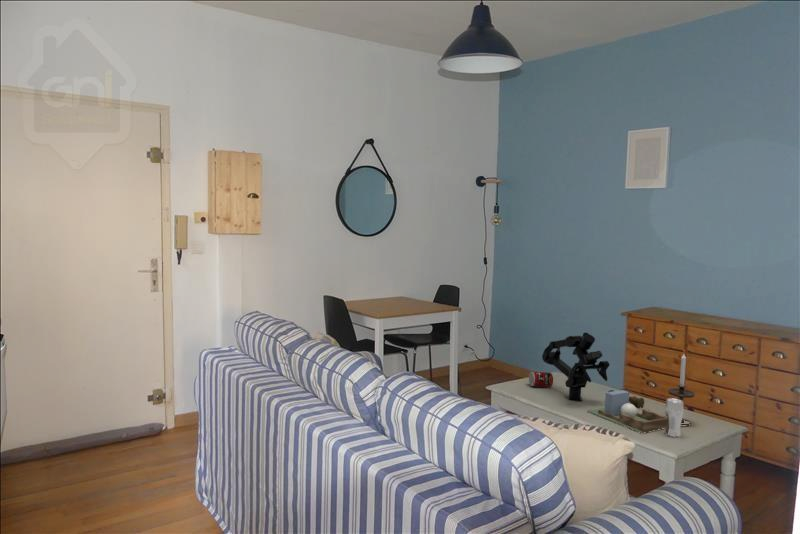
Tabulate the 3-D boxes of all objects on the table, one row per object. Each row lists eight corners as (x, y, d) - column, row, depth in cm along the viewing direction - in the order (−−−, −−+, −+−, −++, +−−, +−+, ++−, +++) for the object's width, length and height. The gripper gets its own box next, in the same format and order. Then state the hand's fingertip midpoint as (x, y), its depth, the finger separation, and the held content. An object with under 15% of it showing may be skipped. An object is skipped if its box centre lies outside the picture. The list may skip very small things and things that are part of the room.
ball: (619, 415, 274) (620, 400, 274) (635, 417, 272) (636, 402, 272) (620, 419, 268) (621, 404, 267) (637, 421, 266) (638, 406, 265)
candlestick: (661, 421, 268) (666, 346, 265) (673, 417, 275) (678, 343, 272) (685, 428, 260) (690, 350, 257) (697, 424, 266) (702, 347, 263)
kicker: (604, 413, 275) (605, 392, 275) (621, 410, 280) (622, 389, 280) (611, 416, 272) (612, 394, 271) (628, 413, 277) (629, 392, 276)
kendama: (635, 410, 286) (601, 398, 302) (647, 408, 291) (613, 396, 308) (636, 398, 285) (602, 387, 302) (648, 396, 291) (614, 385, 307)
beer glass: (660, 432, 255) (662, 398, 254) (676, 431, 255) (678, 398, 254) (669, 437, 248) (671, 403, 247) (685, 437, 248) (687, 403, 247)
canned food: (553, 386, 317) (534, 385, 315) (548, 387, 324) (528, 386, 323) (553, 371, 319) (533, 371, 317) (547, 373, 326) (528, 372, 325)
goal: (587, 411, 280) (587, 402, 279) (615, 406, 289) (616, 397, 288) (641, 433, 252) (642, 423, 252) (671, 427, 261) (672, 417, 260)
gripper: (574, 346, 285) (589, 371, 274) (606, 344, 291) (622, 369, 280) (565, 360, 292) (579, 386, 281) (597, 359, 298) (612, 383, 287)
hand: (598, 381), depth 282 cm, fingers open, 9 cm apart
